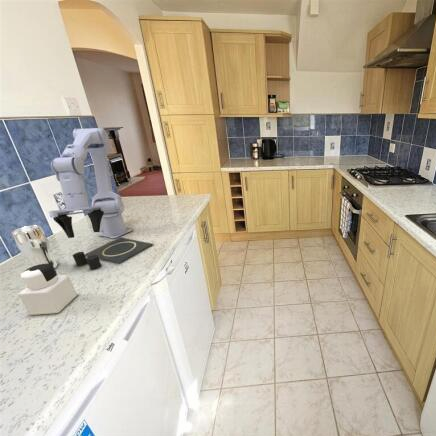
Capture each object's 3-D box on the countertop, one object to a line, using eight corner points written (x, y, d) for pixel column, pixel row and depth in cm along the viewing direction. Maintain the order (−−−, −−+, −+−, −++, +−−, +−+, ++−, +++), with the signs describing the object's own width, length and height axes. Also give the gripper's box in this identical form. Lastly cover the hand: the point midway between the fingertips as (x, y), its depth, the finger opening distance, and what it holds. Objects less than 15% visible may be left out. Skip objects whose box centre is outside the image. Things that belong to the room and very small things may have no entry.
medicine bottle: (52, 296, 69) (33, 261, 65) (78, 294, 70) (61, 259, 65) (29, 315, 63) (7, 277, 58) (58, 313, 63) (38, 275, 59)
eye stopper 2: (88, 269, 82) (84, 258, 80) (97, 264, 85) (93, 254, 83) (94, 270, 81) (90, 260, 79) (103, 265, 84) (99, 255, 82)
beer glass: (64, 264, 85) (46, 225, 79) (39, 276, 79) (18, 235, 73) (51, 261, 87) (32, 223, 81) (26, 272, 81) (4, 232, 75)
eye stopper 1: (74, 265, 84) (70, 255, 83) (84, 260, 87) (80, 251, 85) (80, 266, 83) (76, 256, 82) (89, 262, 86) (85, 252, 84)
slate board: (85, 255, 90) (84, 253, 90) (120, 238, 102) (120, 237, 102) (119, 264, 84) (118, 262, 84) (152, 245, 96) (152, 243, 96)
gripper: (54, 195, 71) (65, 240, 73) (106, 191, 85) (114, 229, 87) (41, 197, 74) (52, 240, 76) (93, 193, 87) (101, 230, 89)
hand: (84, 234), depth 82 cm, fingers open, 7 cm apart
